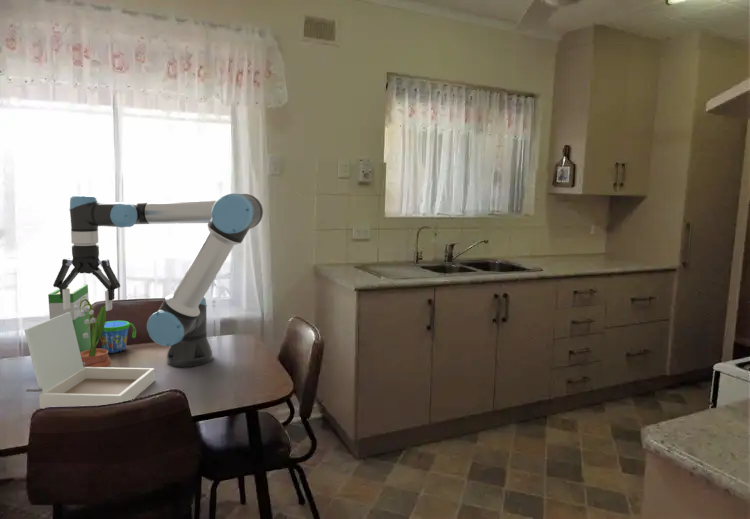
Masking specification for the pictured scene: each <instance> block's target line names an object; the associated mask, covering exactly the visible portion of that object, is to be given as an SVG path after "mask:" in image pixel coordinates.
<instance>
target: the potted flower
mask: <svg viewBox="0 0 750 519" xmlns="http://www.w3.org/2000/svg"><path fill="white" fill-rule="evenodd" d="M83 298H86V297H83ZM81 299H82V298H81ZM81 299H80V301H81ZM83 301H87V302H85V304H84V306H83V307H84V308H82V310H83V311H81V309H80V308H81V304H82V302H83ZM79 303H80V306H79V307H78V306H77V305H76V306H74V310H76V309H77V310H78V308H79V309H80V312H79V313H78V315H79V317H82V316H85V314H84V313H86V312H88V311H89V314H88V315H89V317H91V318H90V324H88V323H89V320H88V319H87V316H86V320H84V322H85V323H84V324H88V325H90V326H92V329H91V330H90V336H91V348H90V349H89V350H86V351H83V352H80V354H81V359H82V363H85V365H83V367H110V365H111V364H112V361H111V357H110V356H109V353H108V350H106V349H103V348H97V345H98V343H99V340H100V336H101V334H102V332H103V329H104V325H105V322H107V311H106V304H105V305H102V306H101V308H100V309H99V311H98V314H97V316H96V317H95V314H94V313H95V311H94V309H93V304H91V302H90V300H89V301H88V300H87V299H83V300H82V301H81V302H79ZM86 303H88V304H87V305H89V310H88V308H87V307H85V306H86ZM88 325H87V326H88ZM86 328H87V327H86ZM85 332H86V330H85ZM88 337H89V336H88V333H84V334H83V338H88Z"/></svg>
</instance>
